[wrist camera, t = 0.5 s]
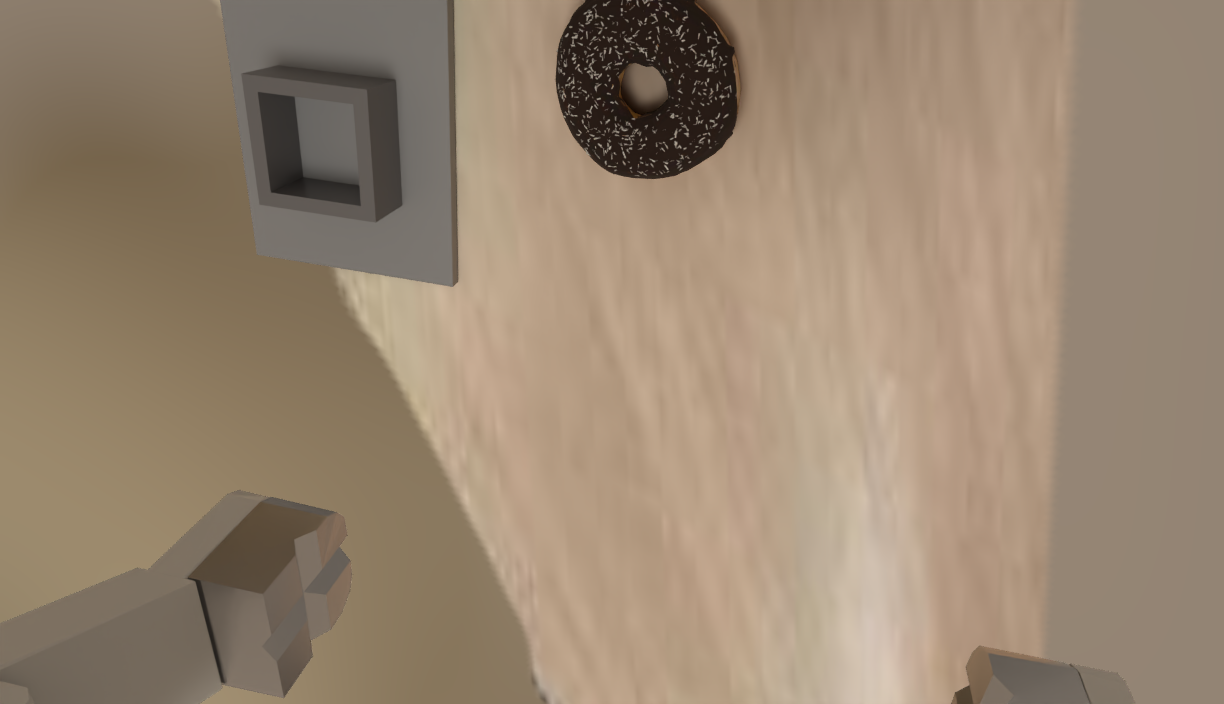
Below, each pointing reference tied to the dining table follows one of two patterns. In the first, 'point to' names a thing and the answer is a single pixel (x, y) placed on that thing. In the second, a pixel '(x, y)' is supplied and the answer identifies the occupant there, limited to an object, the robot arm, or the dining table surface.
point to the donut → (686, 58)
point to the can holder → (349, 132)
